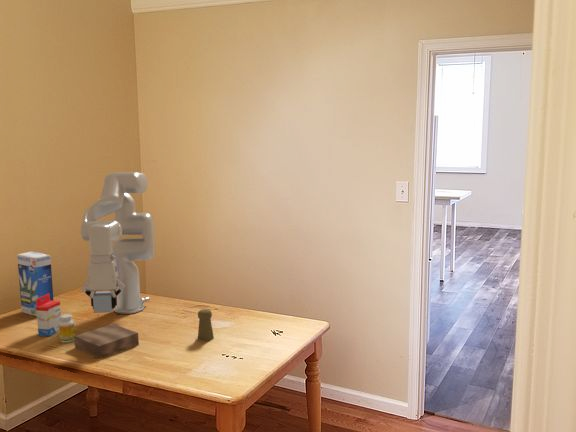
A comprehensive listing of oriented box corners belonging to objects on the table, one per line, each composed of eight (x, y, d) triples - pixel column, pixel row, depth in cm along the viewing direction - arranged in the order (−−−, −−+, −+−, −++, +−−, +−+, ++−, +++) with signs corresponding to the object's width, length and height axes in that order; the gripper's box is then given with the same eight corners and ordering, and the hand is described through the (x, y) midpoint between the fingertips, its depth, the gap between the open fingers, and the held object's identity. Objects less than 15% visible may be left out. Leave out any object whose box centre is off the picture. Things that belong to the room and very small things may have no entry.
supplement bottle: (59, 339, 215) (57, 314, 214) (74, 336, 217) (72, 312, 216) (60, 344, 210) (58, 319, 209) (76, 341, 213) (74, 316, 211)
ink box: (49, 337, 218) (46, 299, 215) (38, 336, 218) (35, 299, 216) (62, 329, 226) (59, 293, 224) (51, 328, 227) (48, 292, 225)
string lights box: (21, 312, 247) (16, 254, 243) (36, 307, 253) (32, 251, 250) (40, 317, 240) (35, 257, 236) (55, 312, 247) (51, 254, 243)
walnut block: (113, 336, 219) (112, 323, 218) (138, 345, 209) (138, 332, 208) (75, 349, 206) (74, 335, 206) (100, 359, 196) (99, 346, 196)
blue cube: (114, 307, 208) (113, 291, 207) (111, 312, 202) (110, 295, 201) (98, 307, 208) (97, 291, 207) (93, 312, 202) (92, 296, 201)
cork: (200, 342, 210) (199, 313, 209) (195, 337, 216) (194, 309, 214) (216, 339, 213) (215, 311, 211) (210, 334, 218) (209, 306, 217)
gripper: (128, 255, 207) (130, 304, 209) (79, 257, 205) (82, 305, 208) (124, 260, 199) (126, 310, 202) (73, 261, 198) (76, 311, 200)
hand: (104, 307), depth 205 cm, fingers closed on blue cube, 6 cm apart
